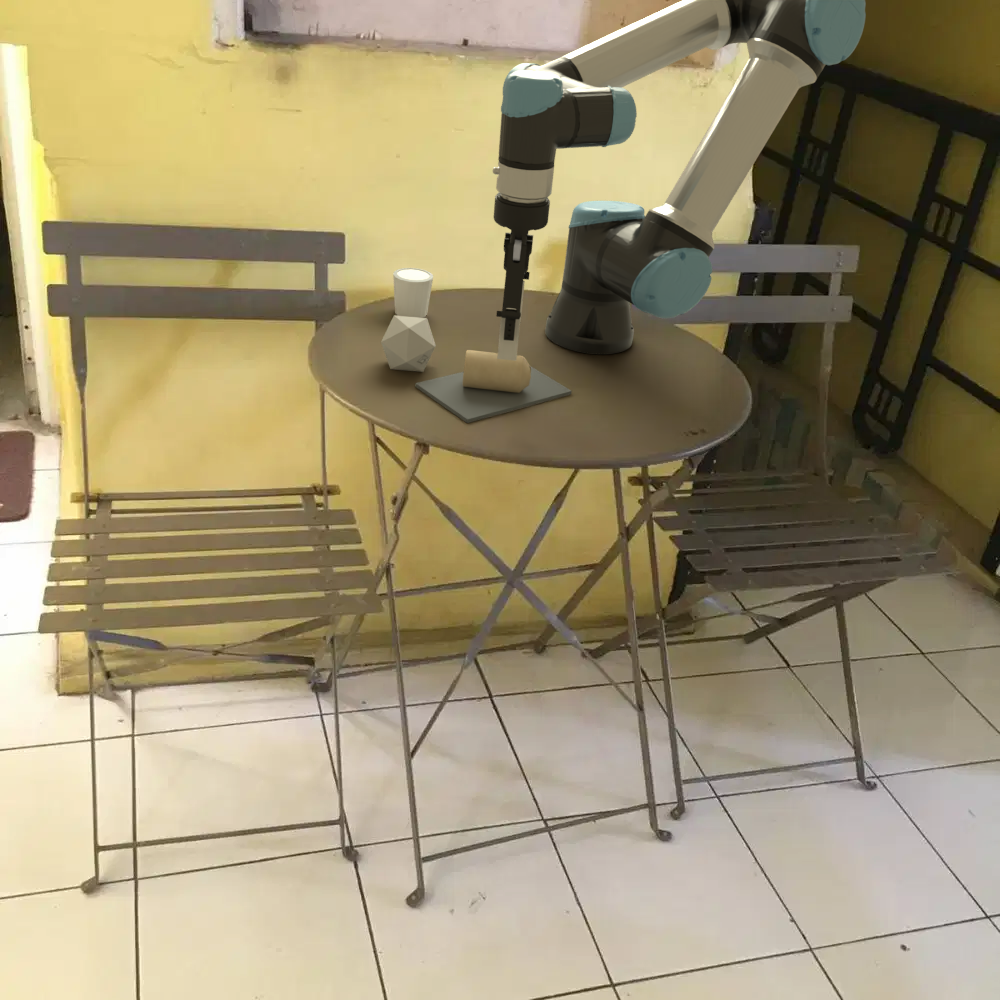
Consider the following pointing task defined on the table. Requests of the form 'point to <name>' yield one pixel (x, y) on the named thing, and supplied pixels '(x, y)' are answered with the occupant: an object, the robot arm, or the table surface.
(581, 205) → the robot arm
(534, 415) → the table surface
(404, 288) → the shot glass
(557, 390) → the mat
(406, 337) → the die
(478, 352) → the candle
